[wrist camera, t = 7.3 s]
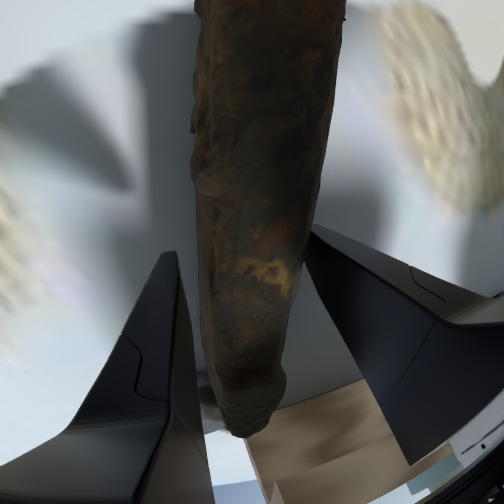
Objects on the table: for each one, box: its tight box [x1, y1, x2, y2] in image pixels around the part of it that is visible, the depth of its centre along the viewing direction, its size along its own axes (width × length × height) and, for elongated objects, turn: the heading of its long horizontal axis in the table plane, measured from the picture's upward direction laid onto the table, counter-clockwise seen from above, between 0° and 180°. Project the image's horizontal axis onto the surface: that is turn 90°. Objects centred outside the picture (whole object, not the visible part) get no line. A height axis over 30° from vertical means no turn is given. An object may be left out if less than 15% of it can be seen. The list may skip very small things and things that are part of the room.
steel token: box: [196, 372, 225, 434], centre depth 16 cm, size 4×4×2 cm
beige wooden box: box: [243, 379, 453, 504], centre depth 17 cm, size 11×13×10 cm
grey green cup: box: [406, 452, 462, 495], centre depth 30 cm, size 10×10×12 cm
